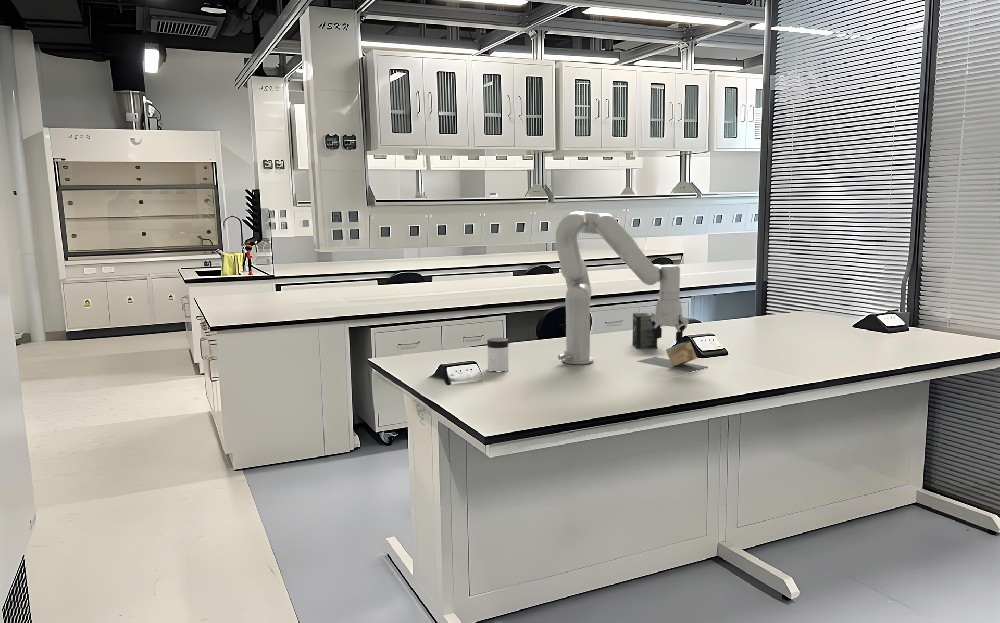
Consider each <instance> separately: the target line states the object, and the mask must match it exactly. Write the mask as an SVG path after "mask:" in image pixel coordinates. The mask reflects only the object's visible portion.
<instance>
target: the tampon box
mask: <svg viewBox="0 0 1000 623" xmlns="http://www.w3.org/2000/svg"><path fill="white" fill-rule="evenodd" d="M653 315H655V313H653V312H649V313H648V312H647V313H646V312H640V313H638V312H633V313H632V342H631V343H632V346H633V347H634V348H635V349H636V350H639V349H656V350H657V349H658V339H656V338H655V328H654V326H653V324H652V321H651V319H650V317H651V316H653Z"/></svg>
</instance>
